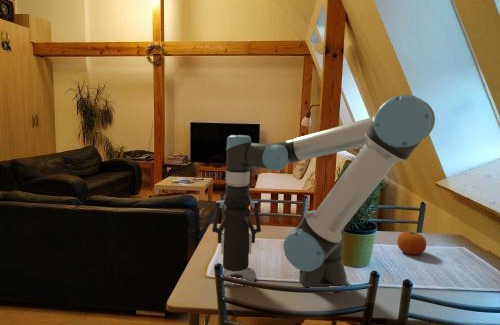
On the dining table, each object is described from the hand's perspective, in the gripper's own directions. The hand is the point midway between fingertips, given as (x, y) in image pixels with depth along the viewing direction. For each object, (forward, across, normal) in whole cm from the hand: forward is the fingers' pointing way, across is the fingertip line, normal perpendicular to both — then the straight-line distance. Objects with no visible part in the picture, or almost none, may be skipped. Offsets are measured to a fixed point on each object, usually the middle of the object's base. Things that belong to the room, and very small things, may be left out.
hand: (236, 252), depth 113 cm
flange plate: (+9, 0, 0) cm, 9 cm away
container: (+5, 0, 0) cm, 5 cm away
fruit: (+9, -71, -20) cm, 74 cm away
